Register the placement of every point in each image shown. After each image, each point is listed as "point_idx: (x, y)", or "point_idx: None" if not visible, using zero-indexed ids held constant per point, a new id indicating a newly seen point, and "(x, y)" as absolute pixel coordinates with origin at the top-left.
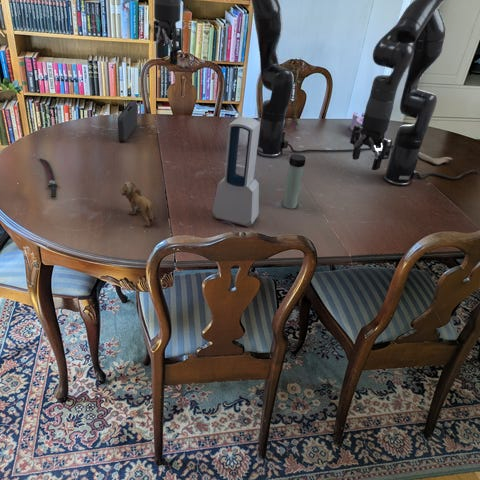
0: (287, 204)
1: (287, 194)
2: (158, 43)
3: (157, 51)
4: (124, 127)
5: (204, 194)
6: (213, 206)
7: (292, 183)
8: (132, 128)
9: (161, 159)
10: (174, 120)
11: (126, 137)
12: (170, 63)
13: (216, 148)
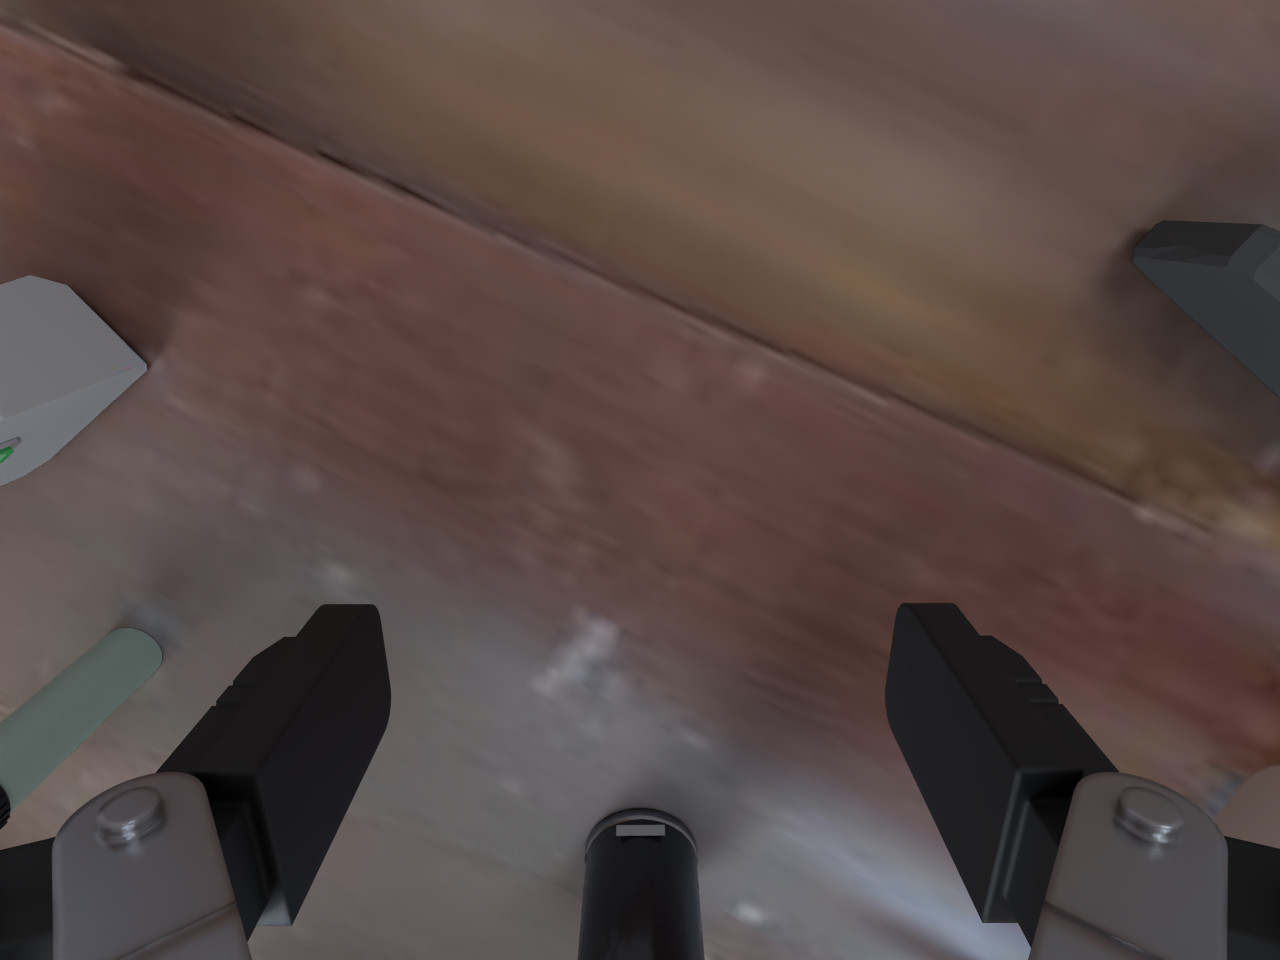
0: (103, 639)
1: (78, 664)
2: (1064, 830)
3: (995, 667)
4: (1196, 271)
5: (325, 368)
6: (11, 282)
7: (17, 709)
8: (1271, 384)
9: (795, 358)
10: (1252, 671)
11: (1164, 287)
12: (331, 604)
13: (794, 680)
